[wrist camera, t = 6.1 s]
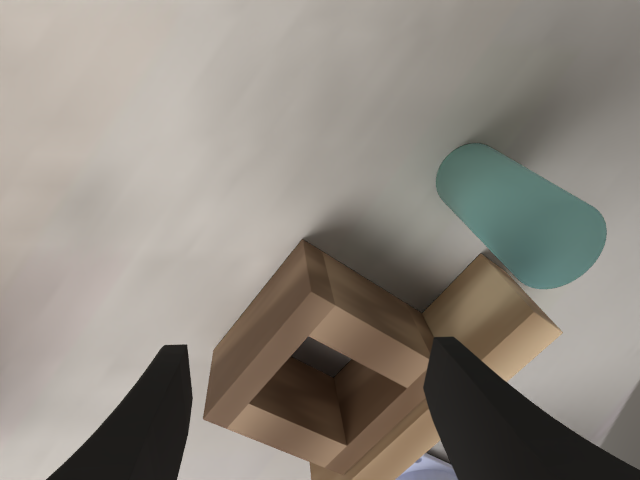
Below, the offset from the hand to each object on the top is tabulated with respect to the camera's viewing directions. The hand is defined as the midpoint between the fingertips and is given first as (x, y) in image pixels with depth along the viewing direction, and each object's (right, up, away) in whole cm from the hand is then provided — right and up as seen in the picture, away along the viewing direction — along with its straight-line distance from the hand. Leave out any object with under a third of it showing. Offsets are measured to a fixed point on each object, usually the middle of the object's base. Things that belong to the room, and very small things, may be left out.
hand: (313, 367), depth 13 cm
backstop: (+5, -3, +12) cm, 13 cm away
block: (0, -1, +11) cm, 11 cm away
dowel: (+7, +7, +8) cm, 12 cm away
